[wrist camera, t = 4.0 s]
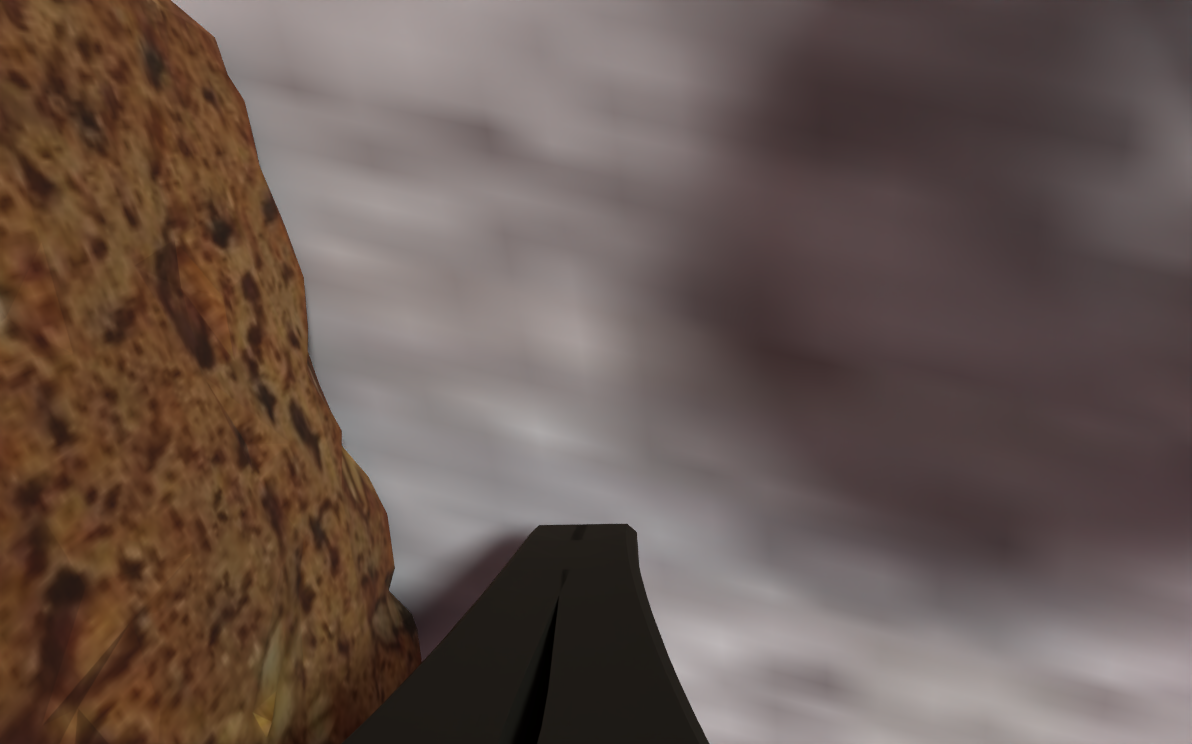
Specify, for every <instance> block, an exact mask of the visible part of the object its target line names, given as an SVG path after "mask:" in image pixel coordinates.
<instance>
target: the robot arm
mask: <svg viewBox="0 0 1192 744" xmlns="http://www.w3.org/2000/svg"><path fill="white" fill-rule="evenodd" d="M341 744H709V742H708V740H707V738H706V736H705V734H704V732H703V730H702V728H701V726H700V724H699V722H698V720H697V718H696V716H695V714H694V712H693V710H692V708H691V705H690V703H689V701H688V699H687V697H686V695H685V693H684V690H683V688H682V686H681V684H680V682H679V680H678V677H677V675H676V673H675V670H674V668H673V665H672V663H671V661H670V658H669V656H668V654H667V651H666V648H665V646H664V643H663V640H662V638H661V635H660V632H659V630H658V627H657V624H656V622H655V619H654V617H653V614H652V611H651V608H650V605H649V602H648V599H647V595H646V592H645V588H644V584H643V581H642V577H641V573H640V568H639V557H638V543H637V532H636V531H635V530H634V529H633V528H631V527H630V526H629V525H628V524H587V525H539V526H538V527H537V528H536V529H535V530H534V531H533V532H532V533H531V534H530V535H529V536H528V538H527V539H526V540H525V541H524V543H523V544H522V545H521V546H520V548H519V549H518V550H517V552H516V553H515V554H514V555H513V557H512V558H511V559H510V560H509V562H508V563H507V564H506V566H505V567H504V568H503V569H502V571H501V572H500V573H499V574H498V575H497V577H496V578H495V579H494V580H493V582H492V583H491V584H490V585H489V586H488V588H487V589H486V590H485V591H484V593H483V594H482V595H481V596H480V597H479V599H478V600H477V601H476V602H475V603H474V604H473V606H472V607H471V608H470V609H469V610H468V611H467V613H466V614H465V615H464V616H463V617H462V618H461V619H460V621H459V622H458V623H457V624H456V625H455V626H454V628H453V629H452V630H451V631H450V632H449V633H448V635H447V636H446V637H445V638H444V639H443V640H442V641H441V643H440V644H439V645H438V646H437V647H436V648H435V649H434V650H433V651H432V652H431V654H430V655H429V656H428V657H427V658H426V659H425V660H424V661H423V662H422V663H421V664H420V665H419V666H418V667H417V668H416V669H415V670H414V671H413V672H412V673H411V674H410V675H409V677H408V678H407V679H406V680H405V681H404V682H403V683H402V684H401V685H400V686H399V687H398V688H397V689H396V690H395V691H394V692H393V693H392V694H391V695H390V696H389V697H388V698H387V699H386V701H385V702H384V703H383V704H382V705H381V706H380V707H379V708H378V709H377V710H376V711H375V712H374V713H373V714H372V715H371V716H370V717H369V718H367V719H366V720H365V721H364V722H363V723H362V724H361V725H360V726H359V727H358V728H357V729H356V730H355V731H354V732H353V733H352V734H351V735H350V736H349V737H348V738H347V739H346V740H345V741H343V742H342V743H341Z"/></svg>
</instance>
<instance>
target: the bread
mask: <svg viewBox="0 0 1192 744" xmlns="http://www.w3.org/2000/svg"><path fill="white" fill-rule="evenodd" d="M307 350H308V324H307V312H306V300H305V288H304V277H303V274H302V272H301V269H300V266H299V264H298V261H297V258H296V255H295V253H294V250H293V247H292V244H291V242H290V239H289V236H288V233H287V231H286V228H285V225H284V223H283V220H282V218H281V215H280V213H279V211H278V208H277V206H276V204H275V201H274V199H273V197H272V194H271V192H270V190H269V187H268V185H267V182H266V180H265V178H264V175H263V173H262V171H261V168H260V166H259V161H258V157H257V152H256V147H255V143H254V139H253V135H252V130H251V126H250V122H249V118H248V114H247V110H246V106H245V102H244V99H243V98H242V96H241V95H240V93H239V92H238V90H237V89H236V87H235V85H234V84H233V82H232V81H231V79H230V78H229V76H228V74H227V72H226V69H225V66H224V63H223V60H222V57H221V54H220V51H219V48H218V45H217V42H216V40H215V37H214V36H212V35H211V34H210V33H209V32H208V31H206V30H205V29H204V28H203V27H202V26H201V25H199V24H198V23H197V22H196V21H195V20H193V19H192V18H191V17H190V16H189V15H187V14H186V13H185V12H184V11H183V10H182V9H180V8H179V7H178V6H177V5H176V4H174V3H173V2H172V1H171V0H0V744H341V743H342V742H343V741H345V740H346V739H347V738H348V737H349V736H350V735H351V734H352V733H353V732H354V731H355V730H356V729H357V728H358V727H359V726H360V725H361V724H362V723H363V722H364V721H365V720H366V719H367V718H369V717H370V716H371V715H372V714H373V713H374V712H375V711H376V710H377V709H378V708H379V707H380V706H381V705H382V704H383V703H384V702H385V701H386V699H387V698H388V697H389V696H390V695H391V694H392V693H393V692H394V691H395V690H396V689H397V688H398V687H399V686H400V685H401V684H402V683H403V682H404V681H405V680H406V679H407V678H408V677H409V675H410V674H411V673H412V672H413V671H414V670H415V669H416V668H417V667H418V666H419V665H420V664H421V663H422V661H421V653H420V646H419V639H418V632H417V628H416V625H415V621H414V618H413V615H412V614H411V613H410V612H409V611H408V610H407V609H406V608H405V607H404V606H403V605H402V604H401V603H400V602H399V601H398V600H397V599H396V598H395V597H394V596H393V595H392V594H391V593H390V592H389V587H390V583H391V580H392V576H393V572H394V569H395V566H394V559H393V552H392V545H391V538H390V531H389V524H388V517H387V513H386V511H385V509H384V507H383V505H382V503H381V501H380V499H379V497H378V495H377V493H376V491H375V489H374V487H373V485H372V483H371V481H370V479H369V477H368V476H367V475H366V473H365V472H364V471H363V470H362V469H361V468H360V466H359V465H358V464H357V463H356V462H355V461H354V460H353V458H352V457H351V456H350V455H349V454H348V453H347V451H346V450H345V449H344V448H343V447H342V431H341V429H340V427H339V425H338V423H337V422H336V420H335V418H334V416H333V414H332V413H331V410H330V408H329V406H328V403H327V401H326V399H325V396H324V394H323V392H322V390H321V387H320V385H319V382H318V379H317V377H316V374H315V371H314V368H313V365H312V362H311V360H310V357H309V354H308V351H307Z"/></svg>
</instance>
